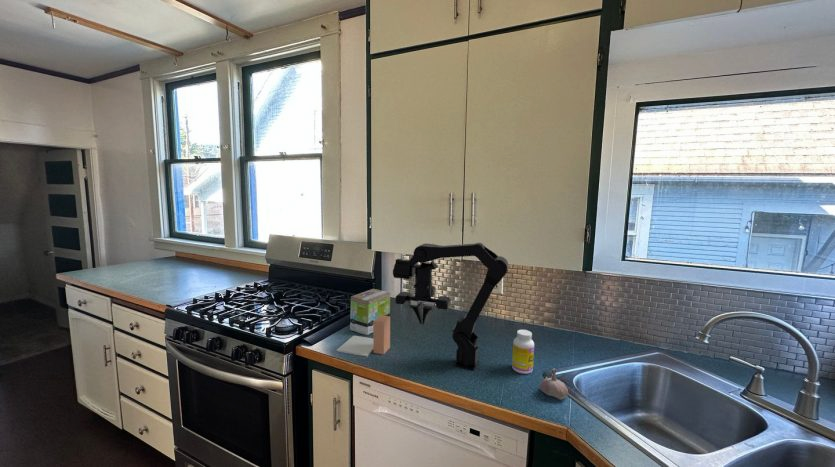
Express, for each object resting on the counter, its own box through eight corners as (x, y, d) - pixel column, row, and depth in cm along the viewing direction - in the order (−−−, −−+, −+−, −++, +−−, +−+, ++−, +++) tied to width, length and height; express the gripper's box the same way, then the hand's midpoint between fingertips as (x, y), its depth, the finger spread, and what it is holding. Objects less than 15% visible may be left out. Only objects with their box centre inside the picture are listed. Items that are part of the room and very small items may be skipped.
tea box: (368, 336, 138) (368, 300, 136) (349, 330, 143) (349, 296, 141) (390, 324, 151) (390, 291, 149) (372, 319, 156) (372, 287, 154)
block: (390, 347, 129) (390, 316, 127) (383, 354, 123) (383, 322, 121) (380, 345, 130) (380, 315, 128) (373, 352, 124) (373, 320, 123)
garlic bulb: (534, 389, 103) (536, 364, 102) (555, 385, 105) (556, 361, 104) (551, 404, 96) (553, 377, 95) (573, 400, 98) (575, 373, 97)
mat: (381, 341, 133) (381, 339, 133) (366, 356, 121) (366, 355, 121) (353, 336, 137) (353, 335, 137) (336, 351, 125) (336, 349, 125)
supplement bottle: (529, 376, 110) (532, 338, 108) (509, 370, 113) (511, 333, 112) (534, 367, 115) (537, 331, 114) (515, 362, 119) (517, 326, 117)
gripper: (454, 277, 123) (453, 319, 125) (405, 272, 129) (404, 313, 131) (447, 285, 113) (446, 331, 115) (394, 280, 118) (394, 323, 120)
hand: (422, 323), depth 121 cm, fingers closed
